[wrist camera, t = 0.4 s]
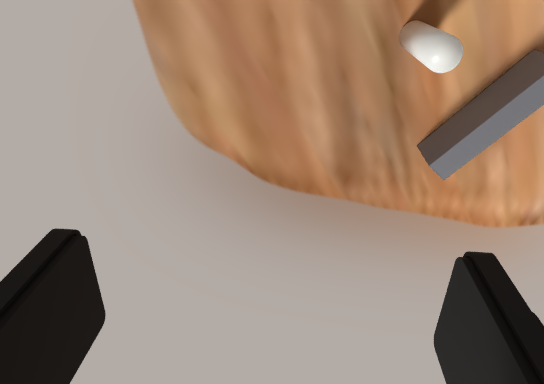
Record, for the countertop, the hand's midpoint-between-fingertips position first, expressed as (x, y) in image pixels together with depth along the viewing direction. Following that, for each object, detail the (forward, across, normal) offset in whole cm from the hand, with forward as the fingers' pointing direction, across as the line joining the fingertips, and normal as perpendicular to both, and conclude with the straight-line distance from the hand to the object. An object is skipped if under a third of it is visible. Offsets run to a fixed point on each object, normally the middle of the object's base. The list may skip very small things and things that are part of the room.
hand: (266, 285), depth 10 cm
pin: (+29, -10, -2) cm, 31 cm away
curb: (+29, -16, +4) cm, 34 cm away
